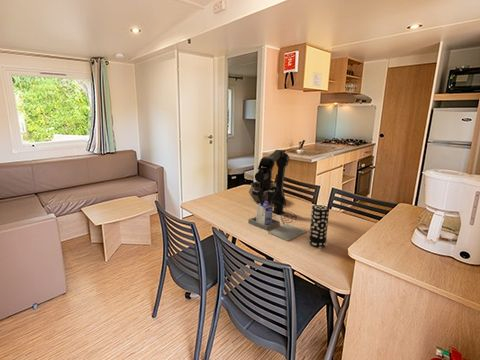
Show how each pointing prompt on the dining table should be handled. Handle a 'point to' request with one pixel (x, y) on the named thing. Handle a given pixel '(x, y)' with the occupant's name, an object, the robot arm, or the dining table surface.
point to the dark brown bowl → (257, 196)
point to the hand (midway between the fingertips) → (265, 204)
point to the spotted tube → (318, 226)
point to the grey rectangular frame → (262, 226)
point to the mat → (287, 232)
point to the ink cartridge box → (264, 214)
